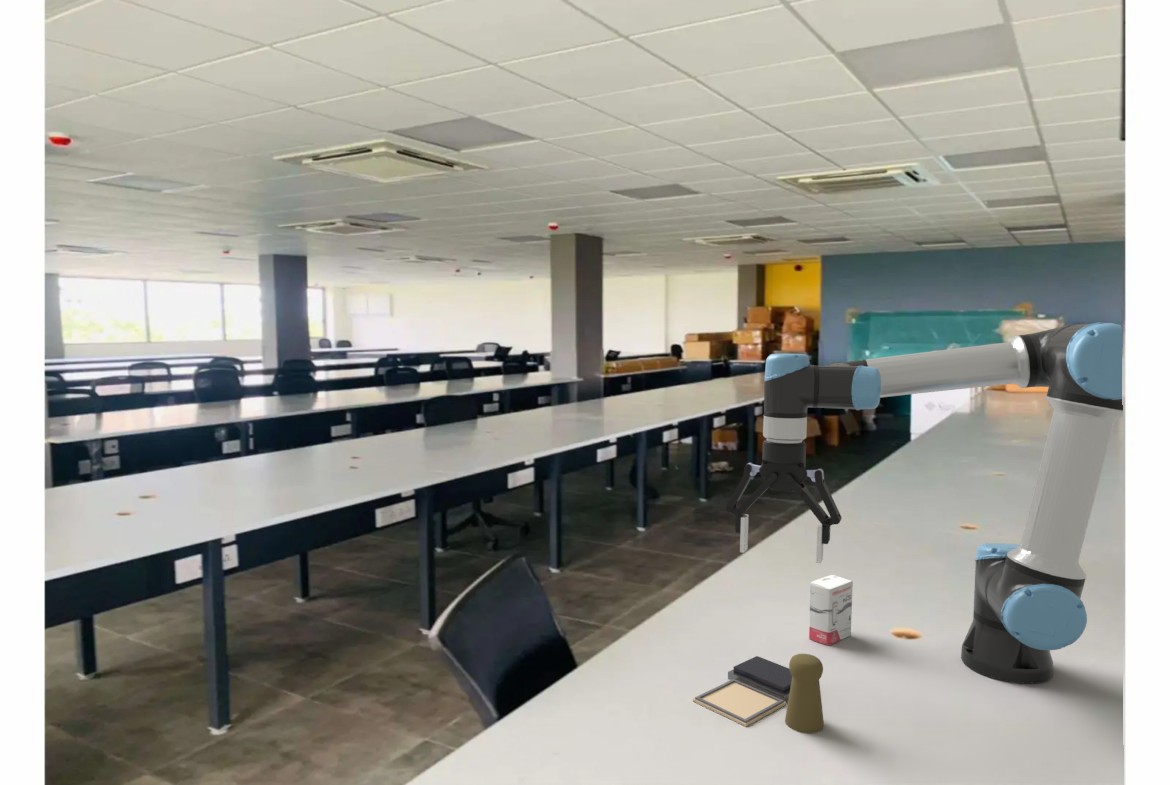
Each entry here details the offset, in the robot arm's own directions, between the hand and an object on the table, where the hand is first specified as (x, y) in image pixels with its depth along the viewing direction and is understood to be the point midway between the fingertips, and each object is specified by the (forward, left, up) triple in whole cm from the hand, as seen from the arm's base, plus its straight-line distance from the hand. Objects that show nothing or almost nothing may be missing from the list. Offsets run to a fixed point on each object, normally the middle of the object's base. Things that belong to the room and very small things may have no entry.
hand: (780, 555), depth 139 cm
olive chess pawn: (-13, +12, -22) cm, 29 cm away
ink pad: (-1, +4, -22) cm, 22 cm away
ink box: (+3, -22, -22) cm, 31 cm away
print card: (-2, +14, -22) cm, 26 cm away
